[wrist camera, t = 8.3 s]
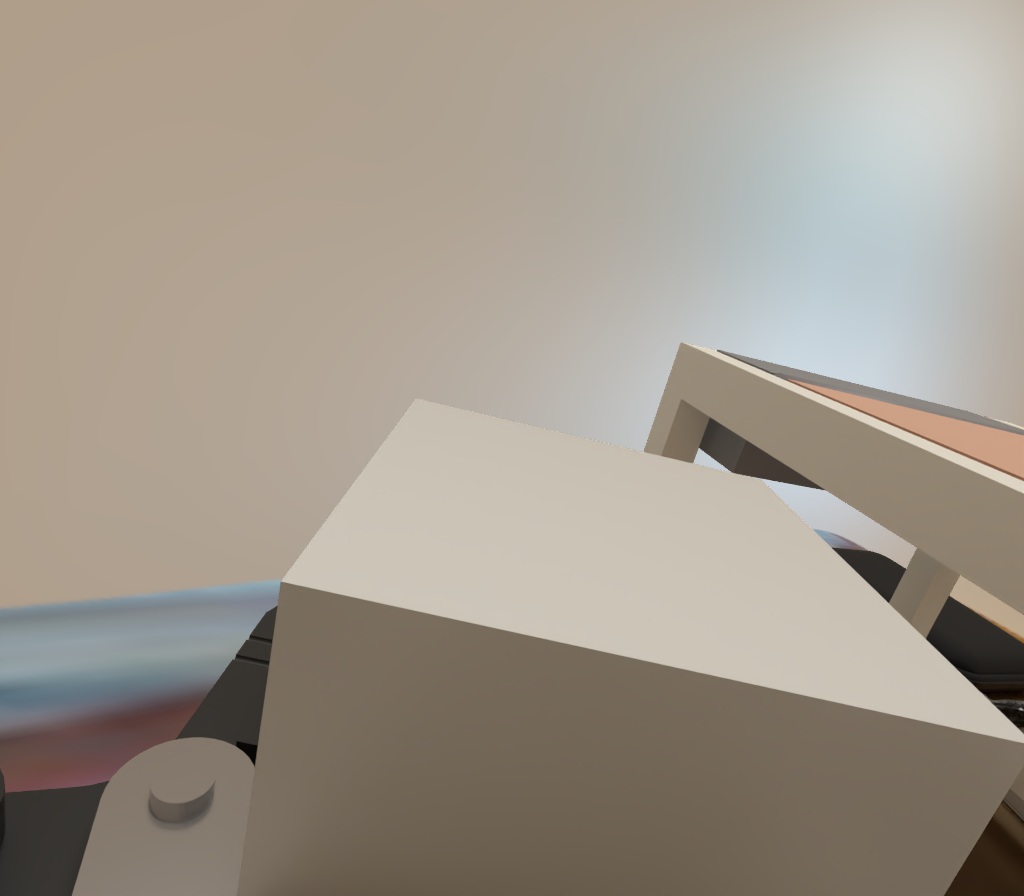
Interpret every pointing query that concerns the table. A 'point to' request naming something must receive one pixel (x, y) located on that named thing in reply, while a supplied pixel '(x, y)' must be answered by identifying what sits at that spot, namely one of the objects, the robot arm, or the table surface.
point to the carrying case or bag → (953, 630)
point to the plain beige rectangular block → (600, 690)
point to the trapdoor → (924, 419)
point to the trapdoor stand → (862, 477)
